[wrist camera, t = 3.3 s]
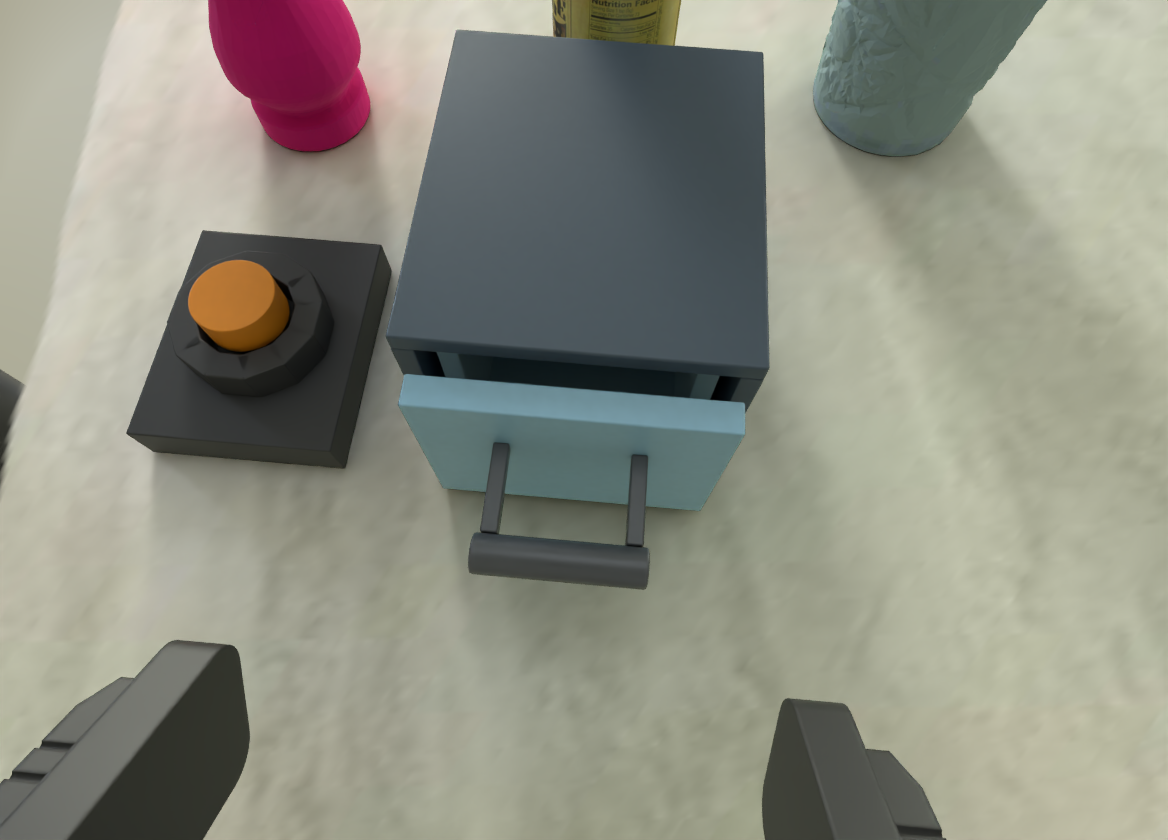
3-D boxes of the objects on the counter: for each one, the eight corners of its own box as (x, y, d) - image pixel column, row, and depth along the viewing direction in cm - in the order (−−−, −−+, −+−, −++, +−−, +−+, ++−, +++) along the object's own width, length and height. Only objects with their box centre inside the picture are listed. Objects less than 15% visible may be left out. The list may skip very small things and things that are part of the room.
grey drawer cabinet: (711, 476, 33) (770, 369, 23) (440, 452, 33) (384, 336, 23) (715, 222, 38) (763, 51, 29) (485, 204, 39) (455, 28, 29)
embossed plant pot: (994, 91, 43) (1140, -131, 32) (923, 198, 39) (1059, -8, 28) (843, 22, 45) (931, -207, 34) (764, 118, 41) (833, -102, 30)
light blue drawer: (698, 621, 29) (746, 581, 21) (423, 596, 29) (367, 546, 21) (706, 258, 36) (744, 124, 28) (486, 240, 37) (461, 102, 29)
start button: (196, 348, 31) (176, 327, 29) (220, 279, 32) (202, 256, 31) (278, 355, 31) (262, 334, 29) (298, 286, 32) (284, 263, 31)
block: (152, 452, 33) (99, 417, 29) (222, 256, 37) (183, 204, 33) (345, 468, 32) (316, 435, 29) (392, 270, 37) (372, 220, 33)
